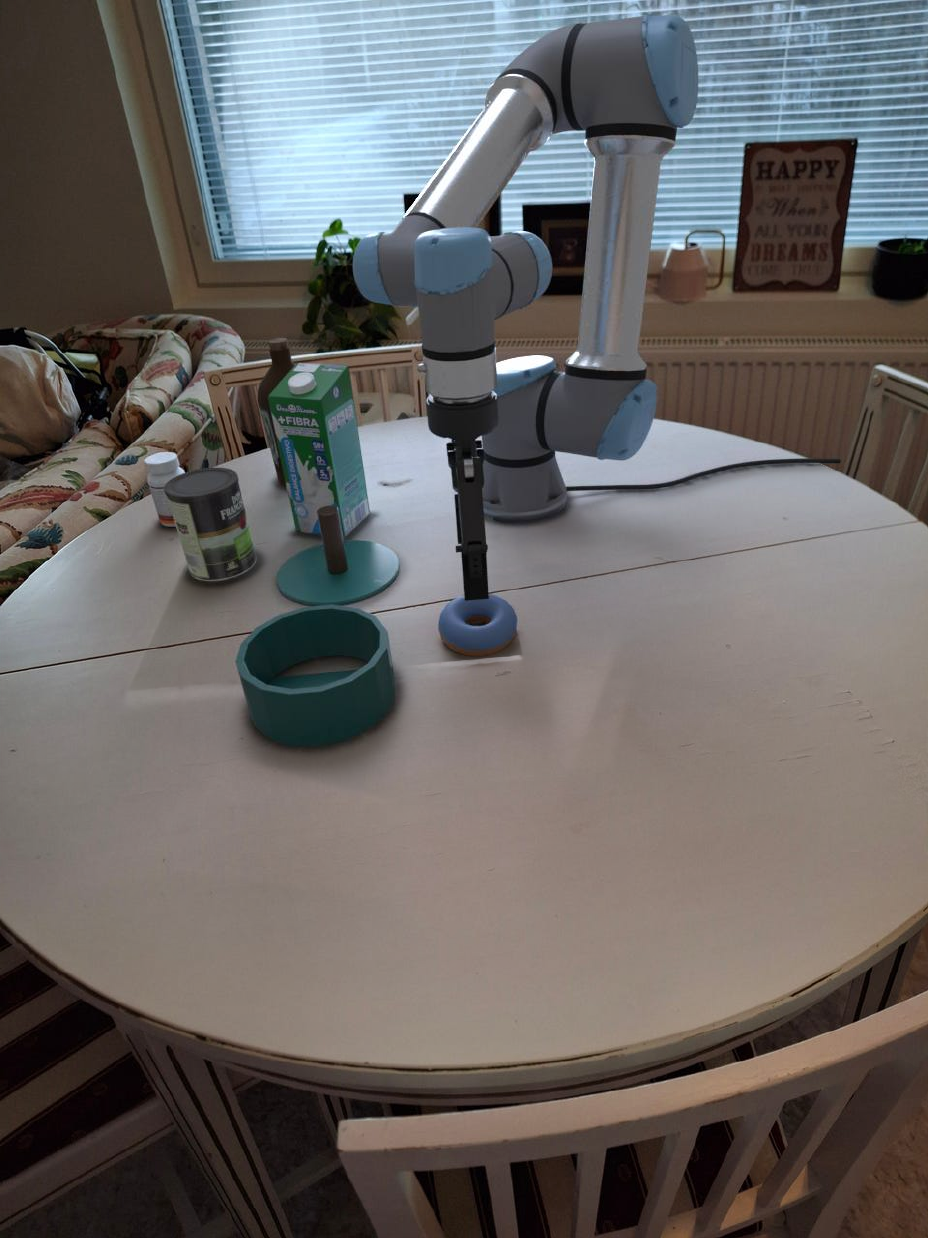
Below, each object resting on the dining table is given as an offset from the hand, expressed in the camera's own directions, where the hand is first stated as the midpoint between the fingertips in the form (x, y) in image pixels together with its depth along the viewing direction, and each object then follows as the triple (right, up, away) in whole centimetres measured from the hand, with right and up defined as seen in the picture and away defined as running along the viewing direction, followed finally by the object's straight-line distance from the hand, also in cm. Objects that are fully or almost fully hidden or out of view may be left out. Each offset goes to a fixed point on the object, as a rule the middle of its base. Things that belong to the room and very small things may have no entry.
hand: (472, 568), depth 96 cm
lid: (-19, +1, +21) cm, 29 cm away
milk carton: (-22, +9, +36) cm, 43 cm away
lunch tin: (-17, -15, -2) cm, 23 cm away
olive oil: (-31, +20, +52) cm, 64 cm away
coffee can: (-37, +2, +26) cm, 46 cm away
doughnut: (+1, -9, +6) cm, 11 cm away
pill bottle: (-50, +11, +41) cm, 65 cm away
